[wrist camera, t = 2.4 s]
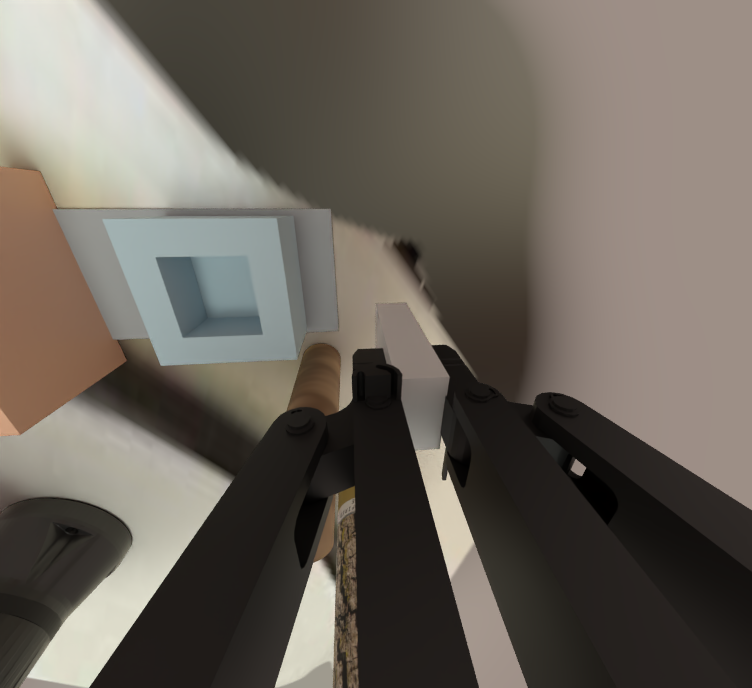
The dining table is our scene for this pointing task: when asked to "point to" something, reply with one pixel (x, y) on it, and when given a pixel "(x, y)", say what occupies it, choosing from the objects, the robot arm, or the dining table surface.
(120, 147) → the dining table surface
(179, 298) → the socket block
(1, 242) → the wall
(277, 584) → the robot arm
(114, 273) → the mat
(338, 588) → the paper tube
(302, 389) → the dowel
